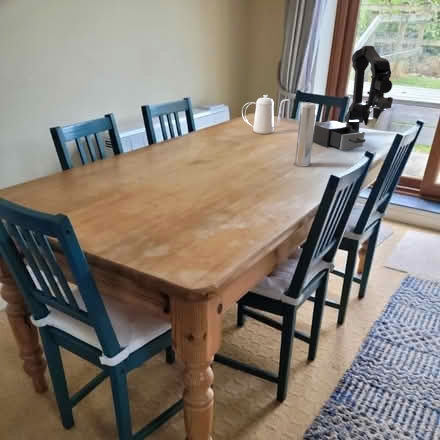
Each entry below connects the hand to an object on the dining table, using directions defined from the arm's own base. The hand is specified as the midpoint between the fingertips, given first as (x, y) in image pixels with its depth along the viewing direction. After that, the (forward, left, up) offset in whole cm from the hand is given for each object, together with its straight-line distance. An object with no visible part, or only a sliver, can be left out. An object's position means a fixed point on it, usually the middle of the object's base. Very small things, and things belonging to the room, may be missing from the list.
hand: (369, 124), depth 222 cm
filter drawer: (0, -14, -9) cm, 16 cm away
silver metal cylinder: (+12, -49, -10) cm, 51 cm away
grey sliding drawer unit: (-12, -14, -10) cm, 21 cm away
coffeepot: (-45, -32, -10) cm, 56 cm away
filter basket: (0, 0, -1) cm, 1 cm away
